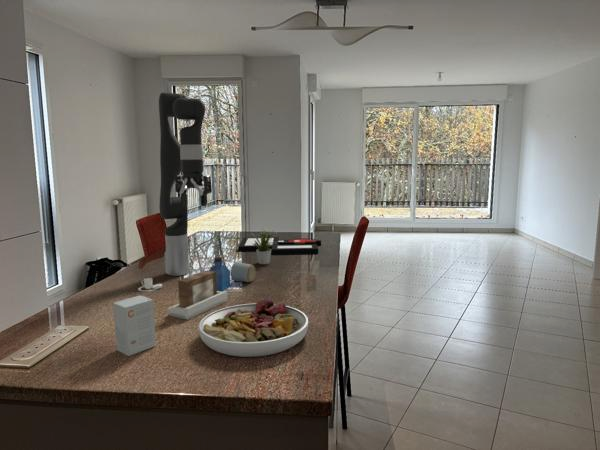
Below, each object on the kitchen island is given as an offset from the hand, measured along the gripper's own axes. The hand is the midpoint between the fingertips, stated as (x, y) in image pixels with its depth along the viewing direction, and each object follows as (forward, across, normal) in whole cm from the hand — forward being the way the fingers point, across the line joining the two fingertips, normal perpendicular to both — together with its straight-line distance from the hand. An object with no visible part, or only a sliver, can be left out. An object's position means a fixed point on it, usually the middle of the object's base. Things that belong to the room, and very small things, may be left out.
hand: (194, 205), depth 154 cm
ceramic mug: (+33, -2, -25) cm, 42 cm away
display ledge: (+33, -8, +9) cm, 35 cm away
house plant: (+33, +5, -54) cm, 64 cm away
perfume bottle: (+33, 0, -12) cm, 35 cm away
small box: (+33, -14, +41) cm, 55 cm away
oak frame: (+32, -8, +9) cm, 34 cm away
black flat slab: (+34, +18, -89) cm, 97 cm away
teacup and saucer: (+34, +22, +2) cm, 41 cm away
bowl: (+34, -38, +21) cm, 55 cm away
